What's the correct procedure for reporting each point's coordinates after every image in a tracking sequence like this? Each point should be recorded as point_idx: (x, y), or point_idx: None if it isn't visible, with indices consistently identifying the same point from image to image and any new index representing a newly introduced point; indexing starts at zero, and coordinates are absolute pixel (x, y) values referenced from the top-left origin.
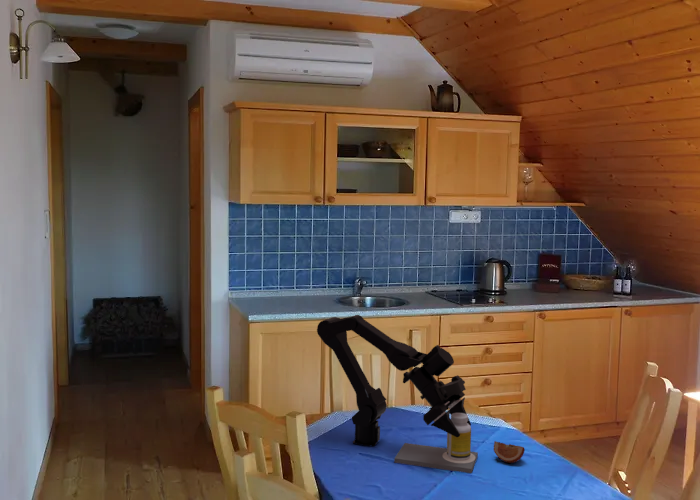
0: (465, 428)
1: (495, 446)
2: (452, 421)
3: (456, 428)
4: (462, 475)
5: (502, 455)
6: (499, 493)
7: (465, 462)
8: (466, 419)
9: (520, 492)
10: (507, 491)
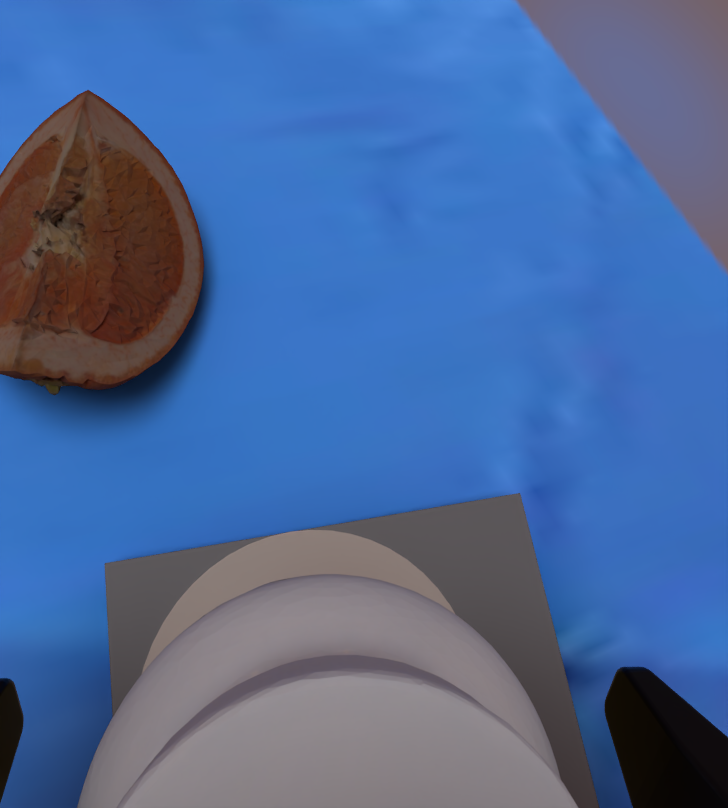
0: (457, 641)
1: (78, 363)
2: None
3: (718, 777)
4: (584, 551)
5: (165, 306)
6: (690, 245)
7: (424, 587)
8: (416, 673)
9: (599, 145)
10: (634, 210)
